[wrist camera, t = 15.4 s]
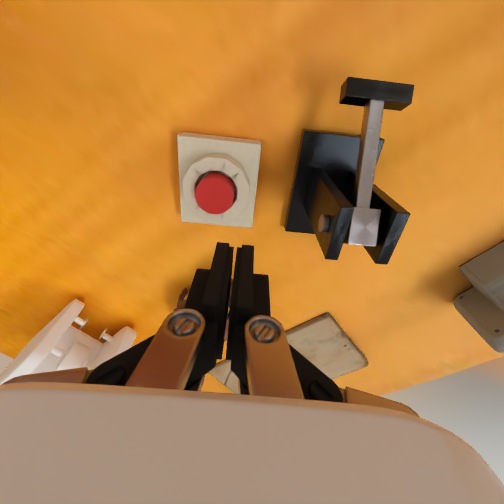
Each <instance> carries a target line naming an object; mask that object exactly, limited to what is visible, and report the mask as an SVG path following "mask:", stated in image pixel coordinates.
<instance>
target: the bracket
mask: <svg viewBox="0 0 504 504" xmlns="http://www.w3.org/2000/svg"><path fill="white" fill-rule="evenodd" d="M360 138H361V135H353V134H344V133H335V132H326V131H317V130H308V129H303V130H302V135H301V140H300V146H299V151H298V157H297V162H296V167H295V173H294V178H293V183H292V189H291V194H290V199H289V205H288V210H287V215H286V221H285V226H284V227H285V231H290V232H301V233H311V234H315V235H316V237H317V240H318V242H319V244H320V247H321V249H322V252H323V254H324V256H325V259H331V260H338V257H339V254H340V251H341V248H342V245H343V242H344V239H345V236H346V233H347V230H348V227H349V224H350V221H351V218H352V215H353V212H354V207H353V206H352V198H353V191H354V183H355V176H356V168H357V160H358V153H359V145H360ZM383 143H384V139H382V138H379V144H378V151H377V159H376V163H377V160H378V158H379V155H380V152H381V149H382V146H383ZM369 209H379V210H381V215H380V222H379V229H378V235H377V242H376V246H375V247H373V246H364V248H365V249H366V251H367V252H368V253H369V255H370V256H371V258H372V259H373V261H374V262H375V263H376V264H388V262H389V259H390V257H391V255H392V253H393V251H394V249H395V246H396V244H397V242H398V240H399V238H400V236H401V233H402V231H403V229H404V227H405V225H406V222H407V220H408V218H409V216H410V213H409V212H408V211H406V210H405V209H404V208H403V207H401V206H400V205H399V204H398V203H397V202H395V201H394V200H393V199H392V198H390V197H389V196H388V195H387V194H386V193H384V192H383V191H382V190H381V189H379V188H378V187H377V186H376V185H374V184H373V187H372V194H371V202H370V208H369Z"/></svg>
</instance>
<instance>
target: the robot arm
mask: <svg viewBox="0 0 504 504" xmlns="http://www.w3.org/2000/svg"><path fill="white" fill-rule="evenodd" d="M233 249H234V247H229V243H219V242H217V246H216V250H215V254H214V257H213V261H212V265H211V269H210V270H208V269H197V270H196V273H195V276H194V279H193V282H192V285H191V288H190V291H189V294H188V297H187V300H186V303H185V306H184V309H179V310H177V311H174V312H172V313H171V314H169V315H168V316H167V317H166V319H165V320H164V322H163V323H162V325H161V327H160V328H159V330H158V332H157V333H156V334H155V335H153V336H151V337H150V338H148V339H146V340H144V341H142V342H140V343H139V344H137V345H135V346H133V347H131V348H129V349H127V350H126V351H124V352H122V353H120V354H118V355H116V356H114V357H113V358H111V359H109V360H107V361H105V362H103V363H102V364H100V365H99V366H97V367H96V368H95V369H92V370H88V368H87V367H83V368H75V369H67V370H59V371H52V372H44V373H36V374H28V375H22V376H18V377H14V378H12V379H10V380H8V381H6V382H4V383H3V384H2V385H0V504H504V485H503V484H502V482H501V481H500V479H499V478H498V477H497V475H496V474H495V473H494V471H493V470H492V469H491V468H490V466H489V465H488V464H487V463H486V461H485V460H484V459H483V458H482V457H481V455H480V454H478V452H476V451H475V450H474V449H473V448H472V447H471V446H470V445H469V444H468V443H466V442H465V441H464V440H463V439H461V438H460V437H458V436H456V435H455V434H453V433H452V432H450V431H448V430H446V429H444V428H443V427H441V426H438V425H436V424H434V423H432V422H429V421H427V420H425V419H423V418H420V417H419V416H418V414H417V413H416V412H415V411H413V410H412V409H411V408H410V407H408V406H406V405H404V404H402V403H399V402H396V401H393V400H389V399H386V398H383V397H379V396H376V395H373V394H369V393H366V392H363V391H359V390H356V389H353V388H349V387H346V388H345V389H342V388H339V387H338V386H337V385H336V384H335V383H334V382H333V380H331V379H330V378H329V377H328V376H327V375H325V374H324V373H323V372H322V371H321V370H319V369H318V368H317V367H316V366H315V365H314V364H312V363H311V362H310V361H309V360H308V359H306V358H305V357H304V356H303V355H302V354H300V353H299V352H298V351H297V350H296V349H294V348H293V347H292V346H291V345H290V344H289V343H288V341H287V337H286V334H285V330H284V328H283V326H282V324H281V323H280V322H279V321H278V320H276V319H275V318H273V317H271V315H270V297H269V279H268V275H262V274H253V261H254V246H251V245H242V248H239V247H237V254H236V262H235V270H234V278H233V286H232V294H231V302H230V312H229V325H228V338H227V351H226V360H231V368H230V370H231V371H232V372H233V373H234V374H235V375H236V376H237V377H238V390H239V394H228V393H215V392H201V388H202V385H203V382H204V377H205V374H206V373H208V372H209V371H210V370H212V369H213V368H214V367H215V366H216V360H217V359H222V353H223V345H224V337H225V330H226V322H227V314H228V307H229V299H230V289H231V275H232V262H233Z"/></svg>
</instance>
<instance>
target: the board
mask: <svg viewBox="0 0 504 504" xmlns="http://www.w3.org/2000/svg"><path fill="white" fill-rule="evenodd" d="M285 334H286V337H287V341H288V343H289V344H290V345H291V346H292V347H293V348H294V349H296V350H297V351H298V352H299V353H300V354H302V355H303V356H304V357H305V358H306V359H308V360H309V361H310V362H311V363H312V364H314V365H315V366H316V367H317V368H318V369H319V370H321V371H322V372H323V373H324V374H325V375H327V376H328V377H329V378H330V379H334V378H337V377H339V376H342V375H345V374H348V373H350V372H353V371H356V370H359V369H361V368H364V367H366V366H368V361H367V359H366V358H365V356H364V355H363V354H362V352H361V351H360V350H359V349H358V348H357V346H356V345H355V344H354V343H353V342H352V341H351V339H350V338H349V337H348V336H347V335H346V333H345V332H344V331H343V330H342V329H341V327H340V326H339V325H338V323H337V322H336V321H335V319H334V318H333V317H332V316H331V315H330V313H325V314H322V315H320V316H318V317H316V318H313V319H311V320H309V321H307V322H305V323H303V324H301V325H299V326H297V327H295V328H292V329H290V330H288V331H286V332H285ZM230 368H231V360H224V361H222V362H220V363H218V364H216V366H215V367H214V368H213V369H212V370H210V371H209V373H210V374H211V375H212V376H213V377H215V378H216V379H217V380H218V381H220V382H221V383H222V384H223V385H225V386H226V387H227V388H228V389H230V390H231V391H232V392H234V393H235V394H239V390H238V377H237V376H236V375H235V374H234V373H233V372H232V371H231V370H230Z"/></svg>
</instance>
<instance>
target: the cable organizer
mask: <svg viewBox="0 0 504 504" xmlns="http://www.w3.org/2000/svg"><path fill="white" fill-rule="evenodd" d="M84 306H85V304H84V303H83V302H81V301H79V300H78V299H75V300H73V301H72V302H70V303H69V304H68V305H67V306H66V307H65V308H64V309H63V310H62V311H61V312H60V313H59V314H58V315H57V316H55V317H54V318H53V319H52V320H51V321H50V322H49V323H48V324H47V325H46V326H45V327H44V328H43V329H42V330H41V331H40V332H39V333H37V334H36V335H35V336H34V337H33V338H32V339H31V341H30V342H29V343H28V344H27V345H26V346H25V347H24V348H23V350H22V351H21V352H20V353H19V354H18V355H17V356H16V358H15V359H14V360H13V361H12V362H11V363H10V364H9V366H8V367H7V368H6V369H5V370H4V371H3V372H2V374H1V375H0V385H2V384H3V383H4V382H6V381H8V380H10V379H12V378H14V377H18V376H22V375H28V374H36V373H44V372H52V371H59V370H67V369H75V368H83V367H87V368H88V370H92V369H95V368H96V367H97V366H99V365H100V364H102V363H103V362H105V361H107V360H109V359H111V358H113V357H114V356H116V355H118V354H120V353H122V352H124V351H126V350H127V349H129V348H131V346H132V344H133V342H134V340H135V338H136V335H137V332H136V331H135V330H133V329H132V328H130V327H129V326H126V327H124V328H122V329H121V330H120V331H118V332H117V333H116V334H115V335H113V336H110V335H108V334H107V333H105V332H106V330H107V329H108V328H107V329H105V330H104V332H103V333H102V334H101V336H100V338H101V337H102V338H103V339H105V340H107V341H105V342H104V343H101V342H100V341H99V340H100V338H99V340H96V339H94V338H92V337H91V336H89V335H87V334H85V333H84V332H82V331H80V329H81V328H82V327H83V326H84V325H85V324H86V322H87V321H88V320H86V321H85V320H83V319H81V318H80V317H78V315H79V313H80V312H81V311H82V309H83V308H84ZM73 321H74V322H76V323H77V324H79V325H81V328H80V329H79V330H78V329H77V328H75V327H73V326H71V324H72V322H73Z"/></svg>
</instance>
